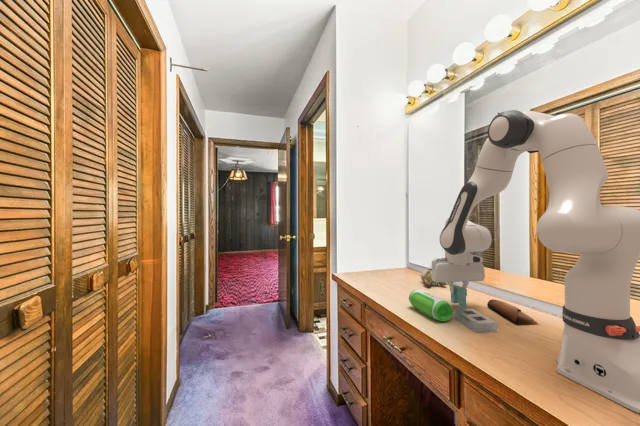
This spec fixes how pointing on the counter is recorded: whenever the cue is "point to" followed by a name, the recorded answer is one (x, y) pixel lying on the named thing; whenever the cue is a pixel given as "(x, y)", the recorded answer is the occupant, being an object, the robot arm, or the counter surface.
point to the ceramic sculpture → (429, 278)
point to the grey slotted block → (475, 320)
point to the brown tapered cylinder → (511, 312)
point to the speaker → (431, 305)
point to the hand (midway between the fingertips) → (458, 292)
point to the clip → (459, 296)
